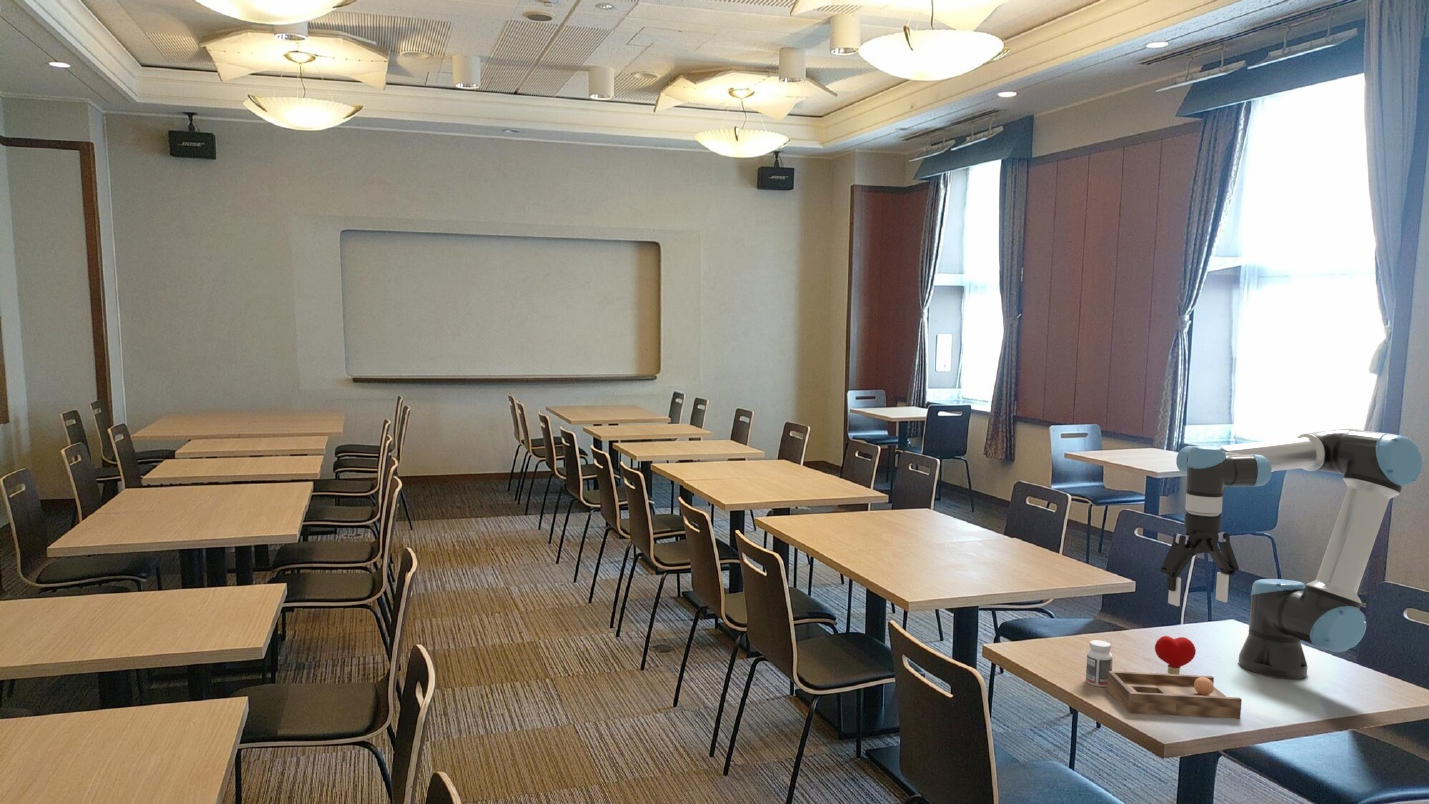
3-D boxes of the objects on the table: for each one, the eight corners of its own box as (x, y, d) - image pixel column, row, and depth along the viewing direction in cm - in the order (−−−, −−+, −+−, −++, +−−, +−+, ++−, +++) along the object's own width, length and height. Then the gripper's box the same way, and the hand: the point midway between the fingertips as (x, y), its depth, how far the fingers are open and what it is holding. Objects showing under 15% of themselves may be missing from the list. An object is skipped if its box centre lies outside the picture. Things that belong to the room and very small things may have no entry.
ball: (1208, 691, 214) (1209, 675, 214) (1216, 698, 210) (1217, 681, 210) (1190, 690, 214) (1191, 674, 214) (1198, 697, 210) (1199, 680, 210)
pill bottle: (1111, 681, 226) (1113, 641, 225) (1110, 689, 221) (1113, 648, 220) (1086, 677, 228) (1088, 638, 227) (1084, 684, 223) (1087, 644, 222)
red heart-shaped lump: (1157, 680, 227) (1160, 640, 227) (1149, 670, 234) (1151, 631, 234) (1198, 683, 226) (1201, 643, 225) (1188, 673, 233) (1191, 634, 232)
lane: (1210, 694, 219) (1211, 676, 219) (1240, 719, 205) (1241, 699, 205) (1106, 689, 220) (1108, 670, 220) (1129, 713, 207) (1130, 693, 206)
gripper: (1233, 507, 221) (1227, 594, 223) (1146, 511, 214) (1141, 601, 216) (1259, 513, 214) (1253, 603, 216) (1170, 518, 207) (1165, 610, 209)
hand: (1197, 602), depth 216 cm, fingers open, 13 cm apart
